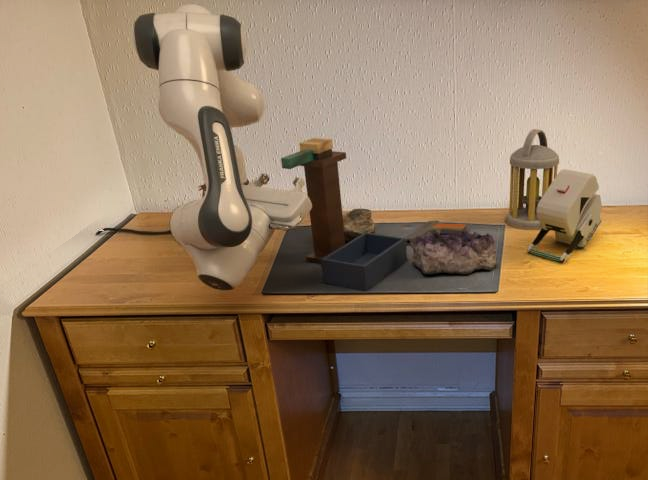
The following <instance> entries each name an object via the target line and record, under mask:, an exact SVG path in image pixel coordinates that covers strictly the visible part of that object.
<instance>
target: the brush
mask: <svg viewBox="0 0 648 480" xmlns="http://www.w3.org/2000/svg"><path fill="white" fill-rule="evenodd" d="M298 144H299V150H300V151H297V152H294V153H291V154H289V155H286V156H283V157H281V158H280V162H281V168H282V169H286V170H291V169H294V168H297V167H301V166H300V165H302V164H305V163H307V162H310V161H312V160H320V159H323V158H325V157H328V156H330V155H332V151H333V148H334V145H333V139H332V138H321V137H313V138H309V139H306V140H304V141H301V142H299V143H298Z"/></svg>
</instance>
